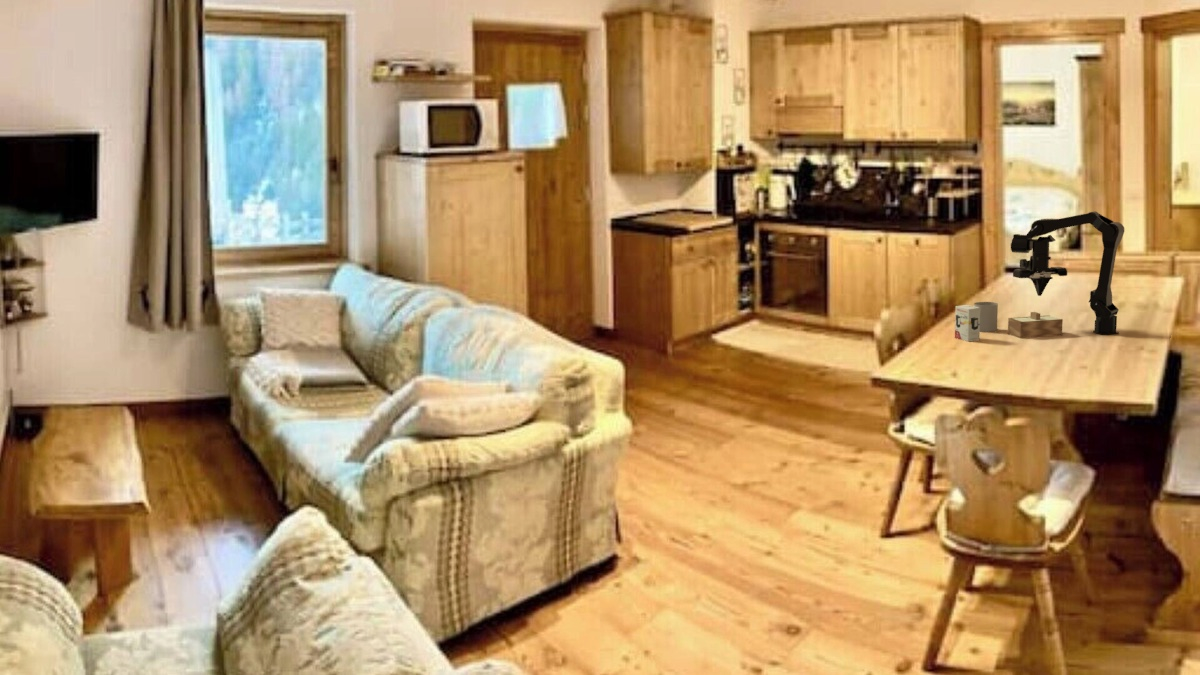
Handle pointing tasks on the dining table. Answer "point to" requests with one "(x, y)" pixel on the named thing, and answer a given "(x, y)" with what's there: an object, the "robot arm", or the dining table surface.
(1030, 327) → the box
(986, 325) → the cup
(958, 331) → the ink box
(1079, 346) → the dining table surface
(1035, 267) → the robot arm
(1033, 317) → the lid
